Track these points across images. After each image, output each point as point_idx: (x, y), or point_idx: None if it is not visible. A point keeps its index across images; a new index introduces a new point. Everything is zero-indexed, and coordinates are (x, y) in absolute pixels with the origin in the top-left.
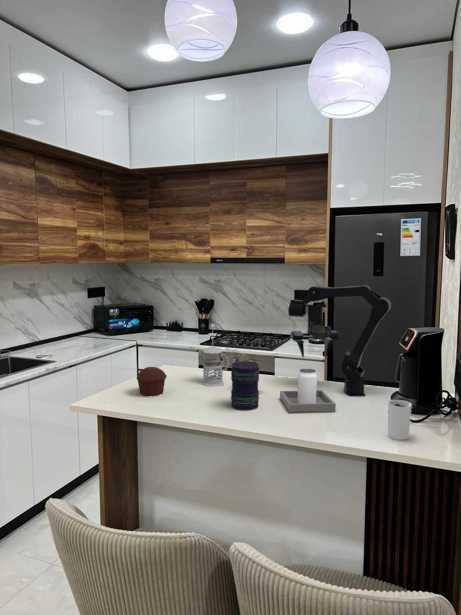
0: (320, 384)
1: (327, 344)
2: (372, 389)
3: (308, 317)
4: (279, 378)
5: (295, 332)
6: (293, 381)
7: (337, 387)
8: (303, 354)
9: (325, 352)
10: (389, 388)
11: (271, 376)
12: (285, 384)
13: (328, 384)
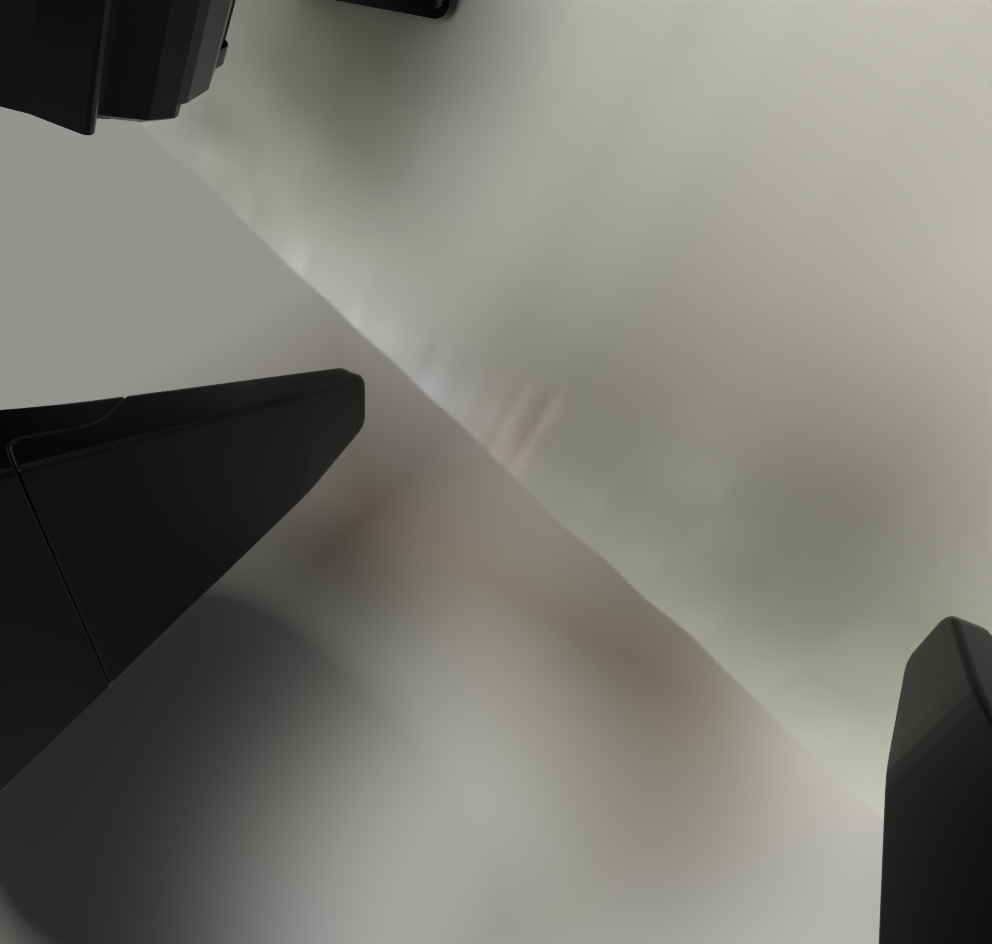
0: (577, 383)
1: (22, 500)
2: None
3: None
4: (863, 731)
5: None
6: (791, 594)
7: (460, 214)
8: (989, 673)
9: (294, 435)
10: None
11: None
12: (983, 565)
13: (501, 349)
